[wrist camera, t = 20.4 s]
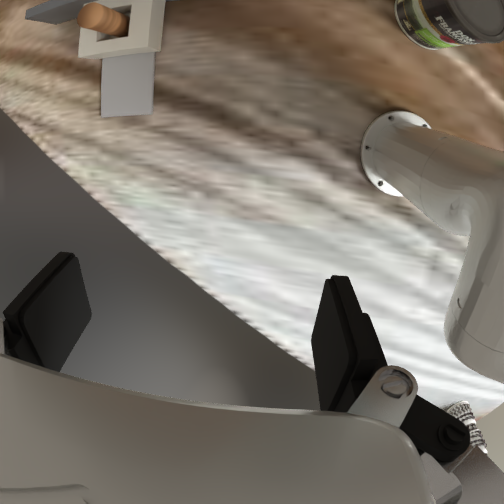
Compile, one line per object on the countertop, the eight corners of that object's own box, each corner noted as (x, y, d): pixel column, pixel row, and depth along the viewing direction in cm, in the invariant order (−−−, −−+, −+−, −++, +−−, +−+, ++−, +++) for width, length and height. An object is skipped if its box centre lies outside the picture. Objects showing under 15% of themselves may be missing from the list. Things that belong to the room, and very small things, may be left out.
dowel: (138, 16, 30) (103, -1, 21) (136, 36, 31) (100, 24, 22) (116, 19, 30) (78, 6, 21) (115, 40, 31) (75, 30, 22)
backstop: (234, -11, 29) (228, -32, 22) (224, 114, 38) (215, 118, 31) (56, 16, 29) (26, 10, 22) (51, 123, 38) (20, 132, 31)
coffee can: (447, 61, 32) (507, 59, 19) (388, 31, 31) (438, 11, 19) (456, 9, 27) (512, -6, 14) (399, -22, 26) (445, -54, 14)
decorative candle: (439, 419, 74) (460, 482, 52) (452, 402, 70) (477, 469, 48) (459, 414, 74) (481, 473, 52) (473, 397, 70) (499, 459, 48)
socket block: (165, 0, 29) (153, -11, 25) (160, 51, 33) (147, 46, 29) (100, 10, 29) (83, 4, 25) (96, 59, 33) (77, 57, 29)
